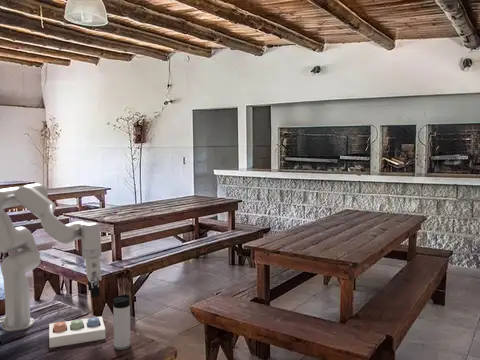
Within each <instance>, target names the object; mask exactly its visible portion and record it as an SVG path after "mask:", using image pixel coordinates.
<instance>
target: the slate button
mask: <svg viewBox="0 0 480 360" xmlns="http://www.w3.org/2000/svg"><path fill="white" fill-rule="evenodd" d="M98 317H99V316H96V317H95V316H94V317H88V318H89V319H88V327H95V326H99V318H98Z"/></svg>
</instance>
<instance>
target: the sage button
mask: <svg viewBox="0 0 480 360" xmlns="http://www.w3.org/2000/svg"><path fill="white" fill-rule="evenodd" d="M73 320H74V321H73ZM73 320H71V321H72V322H71V330H75V329H82V328H83V320H80V319H73Z"/></svg>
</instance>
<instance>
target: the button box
mask: <svg viewBox="0 0 480 360" xmlns="http://www.w3.org/2000/svg"><path fill="white" fill-rule="evenodd" d="M97 317H98V318H99V326H95V327H88V319H89V318H90V317H88V318H81V319H79V320H83V328H82V329H75V330H71V322H72V321H74V320H75V319H73V320H68V321H67V320H66V321H64V322H65V323H66V331H62V332H55V333H54V324H55V323H56V322H52V323H49V324H48V325H49V326H48V327H49V328H48V329H49V332H48V336H49V337H48V341H49V348H50V349H51V348H57V347H63V346H70V345H76V344H81V343H87V342H94V341H101V340H106V339H107V338H106V336H107V335H106V327H105V323H104V319H103V316H97Z"/></svg>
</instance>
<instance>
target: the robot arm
mask: <svg viewBox="0 0 480 360" xmlns="http://www.w3.org/2000/svg"><path fill="white" fill-rule="evenodd" d="M48 196H49V191H48V189H47V187H46V186H45V185H43V184H41V183H31V184H30V183H29V184H25V185H19V186H18V185H17V186H13V187H12V186H11V187H4V188H0V252H1V253H10V252H14V251H17V252H14V253H13V254H10V255H8V256H6V257H5V258H4V259H3V260H2V262H1V264H0V271H1V275H2V278H3V285H4V286H3V287H4V288H3V289H4V304H5V305H4V306H5V307H4V309H5V311H4V312H5V316H2V317H0V325H1V329H2V330H3V331H5V332H6V331H7V332H17V331H23V330H26V329H29V328H31V327H32V326H34V324H35V319H34V318H33V317H31V299H30V297H31V296H30V295H31V294H30V284H29V283H30V282H29V280H28V278H27V276H26V273H29V272H31V271H34V269H36V268H38V266H39V265H40V264H41V255H40V252H39V249H38V247H37V243H36V241H35V238H34V235H33V233H32V232H31V230H30V229H28V228H27V227H25V226H21V225H20V226H14V224H13V221H12V219H11V218H12V217H10V216H9V214H8V213H7V212H6V211H4V210H5V209H9V208H13V207H17V206H22V207H24V208H25V209H26V210H27V211H29V212H30V213H32V214H33V215H34V216H35V217H37V218H38V219H39V221H40V224H41V227H42V229H43V230H44V231H45V233H46V234H48V235H49V236H50V237H51V238H53V240H55V241H57V242H58V243H61V244H63V245H65V244H70V243H73V242H76V241H78V240H81V257H82V259H85V272H86V277H87V280H88V281H87V288H88V289H87V290H88V291H90V293H91V298H98V297H100V296H101V295H100V294H101V293H100V284H99V283H100V282H99V281H102V267H101V260H100V257H101V256H102V241H101V239H102V238H101V225H100V223H98V222H94V221H93V222H86V221H81V220H79V221H78V220H77V221H72V222H69V223H66V224H64V223H63V222H62V221H60V220H59V219H58V218H57V217H56V216H55V215H54V213H55V210H56V207H57V206H56V204H55V202H54V201H52V200H50V199H49V198H48Z"/></svg>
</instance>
